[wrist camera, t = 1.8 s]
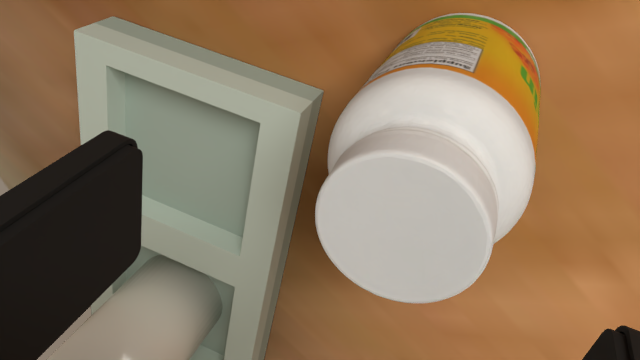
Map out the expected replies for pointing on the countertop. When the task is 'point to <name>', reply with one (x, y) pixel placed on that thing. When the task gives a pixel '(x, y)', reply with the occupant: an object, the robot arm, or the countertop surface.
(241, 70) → the caddy
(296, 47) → the countertop surface
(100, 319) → the white rounded cylinder
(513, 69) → the supplement bottle
